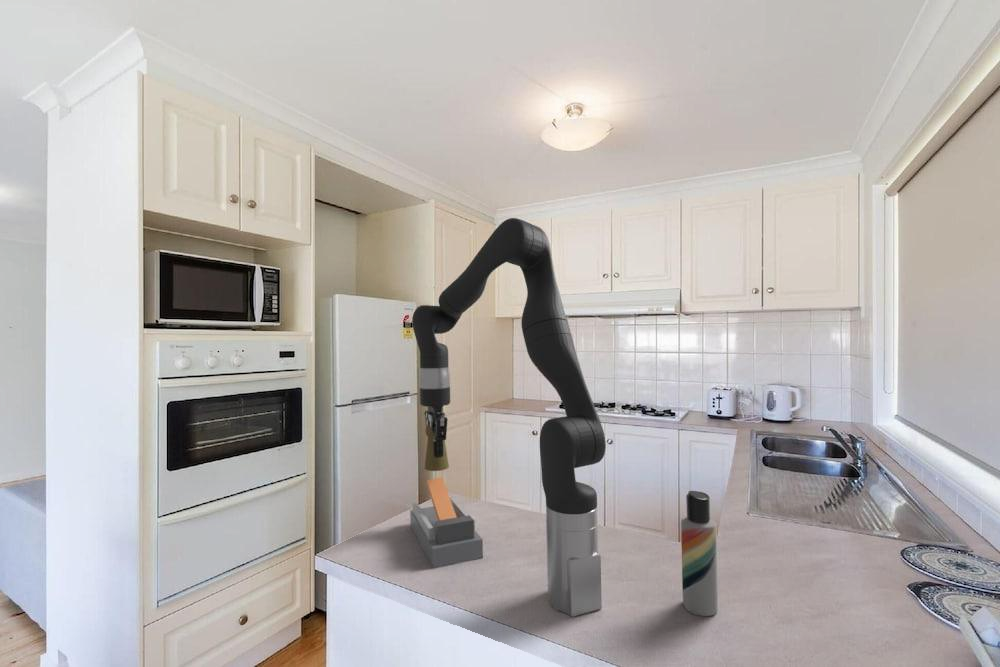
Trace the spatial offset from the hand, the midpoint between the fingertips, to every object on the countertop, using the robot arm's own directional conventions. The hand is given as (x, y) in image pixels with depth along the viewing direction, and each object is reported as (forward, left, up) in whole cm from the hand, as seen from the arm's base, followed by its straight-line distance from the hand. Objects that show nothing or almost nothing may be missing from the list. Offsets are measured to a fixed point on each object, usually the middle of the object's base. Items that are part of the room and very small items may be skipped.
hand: (436, 454), depth 117 cm
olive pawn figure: (0, 0, -3) cm, 3 cm away
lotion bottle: (-51, -34, -19) cm, 64 cm away
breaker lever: (-5, 0, -11) cm, 12 cm away
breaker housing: (-6, 0, -19) cm, 20 cm away
